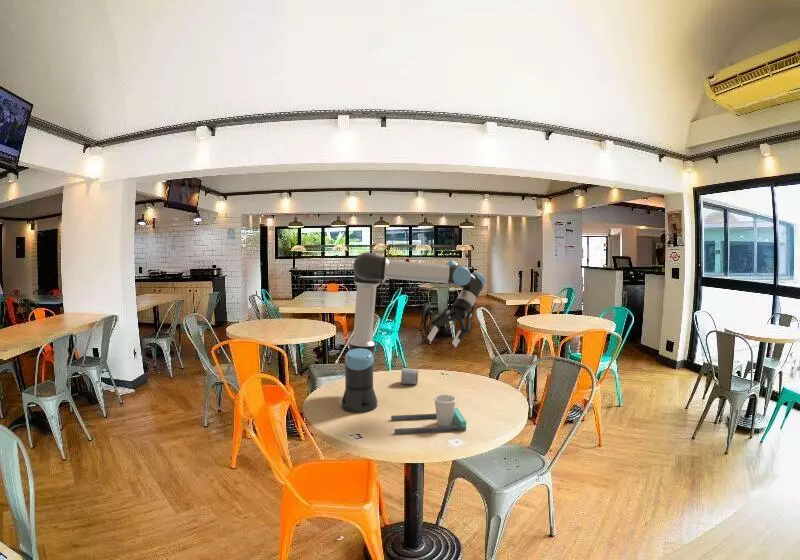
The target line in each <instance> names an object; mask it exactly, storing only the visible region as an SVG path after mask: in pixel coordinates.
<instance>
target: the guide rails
mask: <svg viewBox="0 0 800 560" xmlns="http://www.w3.org/2000/svg"><path fill="white" fill-rule="evenodd" d="M390 417H391V418H390V419H391V421H411V420H413V421H414V420H415V421H416V420H429V419H430V420H432V419H436V420H437V416H436V413H421V414H400V415H399V414H398V415H396V414H395V415H391V416H390ZM461 431H462V432H465V427H461V426H458V425H451V426H427V427H425V426H423V427H405V428H404V427H403V428H401V427H400V428H394V435H404V434H405V435H407V434H423V433H424V434H425V433H442V432H443V433H444V432H461Z"/></svg>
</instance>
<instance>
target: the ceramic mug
mask: <svg viewBox="0 0 800 560" xmlns="http://www.w3.org/2000/svg"><path fill="white" fill-rule="evenodd" d="M400 377H401V378H400V383H401V385H417V384H418V382H419V370H418V369H414V368H405V367H402V368H401V375H400Z"/></svg>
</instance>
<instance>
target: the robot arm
mask: <svg viewBox="0 0 800 560" xmlns="http://www.w3.org/2000/svg"><path fill="white" fill-rule="evenodd" d="M352 268H353V271H354V273H353V274H354V275H353V276H354V277H353V278H354V279H353V283H354V284H355V285H356V297H355V310H354V323H353V324H354V326H353V338H352V339H351V340H350V341H349V347H348V351H347V352H346V353H345V357H344V365H345V367H344V369H345V376H344V377H345V379H344V380H345V381H344V383H345V386H344V387H345V388H344V389H345V390H344V392H343V394H342V395H343V396H342V398H341V402H340V404H341V409H342V410H344V411H346V412H349V413H356V414H357V413H367V412H371V411H373V410H375V409H376V408H378V399H377V396H376V392H375V390H374V366H375V365H374V362H375V360H376V355H375V354H376V353H375V352H376V342H375V341H374V340H373V337H374V334H373V333H374V323H375V322H374V321H375V311H376V309H375V307H376V297H377V287H378V286H379V285H381V281H386V280H387V279H392V280H404V281H416V282H427V283H429V282H430V283H443V284H450V285H458V286H459V287H460V288H461V291H460V292H459V294H458V296H457V298H456V299H455V300H454V303H453V305H452V308H451V309H450V310H449V309H448V308H447V307H446V308H445V309H444V310H443V311H442V312H441V313H440V314H439V315H438V316H437V317H435V318H434V319H433V320H432V321H431V322H430V324H431V326H432V327H431V328H430V330H429V334H428V335H427V339H428V341H429V342H432V341H433V340H434V338H435V337H436V334H437V333H438V331H439V328H441V327H442V326H444V325H445V324H448V323H449V322H459V326H460V330H458V332H457V333H456V335H455V337H454V338H453V340H452V342H451V344H452V345H453V346H454V348H457V347H458V344H459V343H460V341H462V340H463V338H464V336H465V335H466V334H469V335H470V334H471V333H472V332H471V331H472V320H473V314H472V313H471V310H472V307H473V306H474V304H475V302H476V300H477V299H478V297H479V295H480V294H481V292H482V290H483V289H484V287H485V284H486V282H487V281H486V277H485V276H484V275H483V274H482V273H479V272H477V271H475V272H472V273H471V272H470V270H469V269H468V268H467V267H466V266H462V265H460V264H459V263H458V262H456V261H455V260H453V259H450V260H449V261H447V263H446V264H437V263H426V262H425V263H424V262H412V261H405V260H404V261H401V260H390V259H389V258H387V257H385V256H379V255H377V253H375V252H369V251H368V252H362V253H361V254H359V255H358V256H357V257H356V258H355V259H354V261H353V267H352ZM464 318H465V320H464Z"/></svg>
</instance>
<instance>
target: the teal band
mask: <svg viewBox="0 0 800 560" xmlns="http://www.w3.org/2000/svg"><path fill="white" fill-rule="evenodd" d="M453 420H454V422H455V423H456V426H461V427H465V431H467V420H466V419H465V417H464V416H463V414H462V413H461V411H460V409H458V407H454V414H453ZM465 431H464V432H465Z"/></svg>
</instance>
